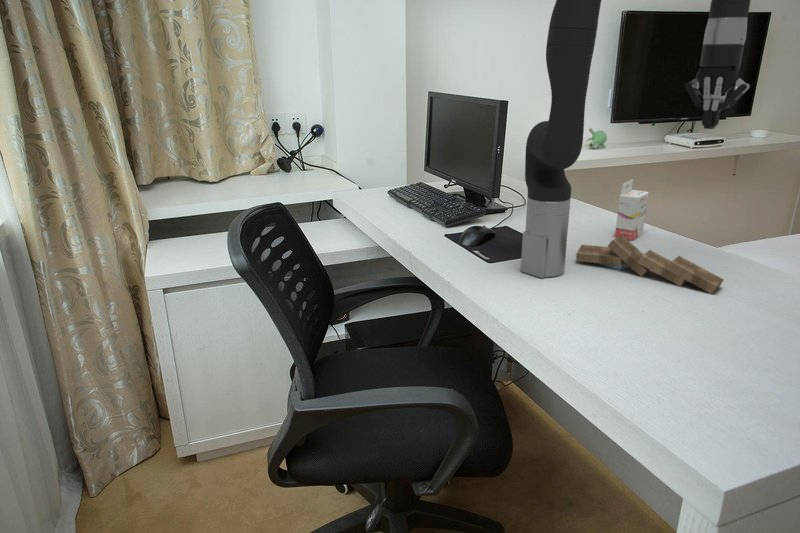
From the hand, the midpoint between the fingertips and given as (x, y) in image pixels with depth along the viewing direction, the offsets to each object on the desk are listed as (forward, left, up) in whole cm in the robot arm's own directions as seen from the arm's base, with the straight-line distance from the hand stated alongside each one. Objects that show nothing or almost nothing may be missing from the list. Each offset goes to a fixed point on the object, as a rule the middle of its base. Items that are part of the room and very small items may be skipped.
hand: (709, 128), depth 125 cm
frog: (+131, +105, -31) cm, 171 cm away
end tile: (-13, +8, -31) cm, 34 cm away
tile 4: (-13, +9, -28) cm, 33 cm away
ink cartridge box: (+10, +20, -31) cm, 38 cm away
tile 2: (-12, -5, -30) cm, 33 cm away
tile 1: (-12, -12, -30) cm, 34 cm away
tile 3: (-13, +3, -30) cm, 33 cm away
